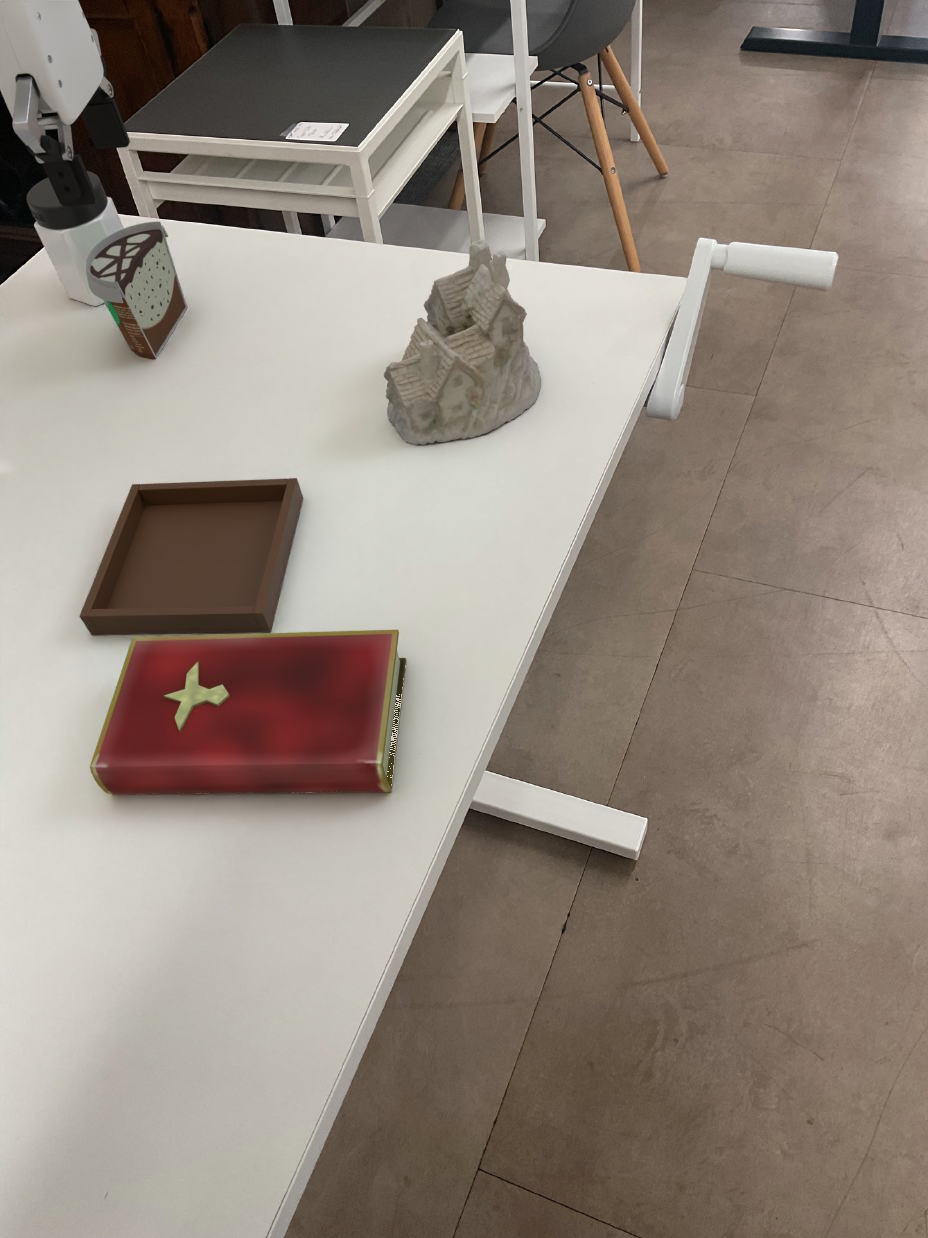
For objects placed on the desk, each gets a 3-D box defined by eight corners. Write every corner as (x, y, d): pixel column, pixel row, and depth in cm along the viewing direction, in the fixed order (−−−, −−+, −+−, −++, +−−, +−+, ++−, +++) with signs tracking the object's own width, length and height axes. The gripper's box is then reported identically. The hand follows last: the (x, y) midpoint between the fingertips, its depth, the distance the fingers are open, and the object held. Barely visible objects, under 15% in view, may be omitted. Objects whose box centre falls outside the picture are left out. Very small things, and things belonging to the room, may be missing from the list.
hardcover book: (391, 797, 71) (380, 766, 68) (109, 799, 74) (86, 769, 71) (406, 660, 79) (397, 627, 76) (150, 667, 81) (131, 634, 78)
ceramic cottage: (509, 317, 105) (488, 185, 93) (562, 416, 95) (545, 282, 83) (367, 364, 105) (328, 237, 93) (406, 468, 95) (367, 341, 83)
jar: (83, 266, 123) (39, 171, 113) (147, 261, 122) (108, 164, 112) (61, 309, 117) (13, 212, 108) (128, 304, 116) (86, 206, 107)
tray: (91, 635, 84) (78, 616, 82) (141, 503, 94) (131, 483, 92) (270, 632, 82) (262, 613, 80) (303, 497, 92) (296, 477, 90)
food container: (143, 299, 116) (110, 218, 109) (192, 300, 115) (161, 218, 107) (99, 365, 109) (59, 284, 101) (150, 367, 108) (114, 284, 100)
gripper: (0, -85, 81) (87, 130, 94) (-90, 2, 70) (23, 230, 83) (88, -95, 79) (164, 123, 93) (11, -9, 69) (109, 224, 82)
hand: (97, 174), depth 88 cm, fingers open, 9 cm apart
